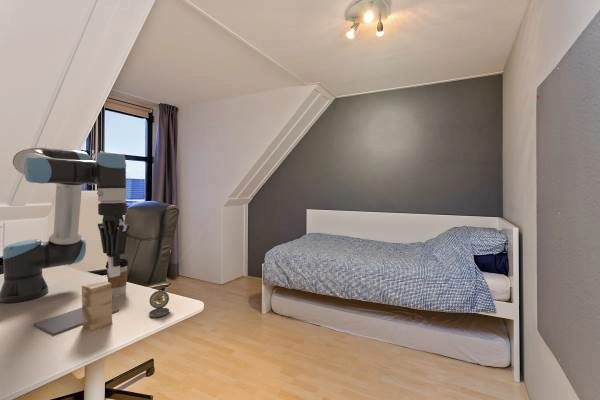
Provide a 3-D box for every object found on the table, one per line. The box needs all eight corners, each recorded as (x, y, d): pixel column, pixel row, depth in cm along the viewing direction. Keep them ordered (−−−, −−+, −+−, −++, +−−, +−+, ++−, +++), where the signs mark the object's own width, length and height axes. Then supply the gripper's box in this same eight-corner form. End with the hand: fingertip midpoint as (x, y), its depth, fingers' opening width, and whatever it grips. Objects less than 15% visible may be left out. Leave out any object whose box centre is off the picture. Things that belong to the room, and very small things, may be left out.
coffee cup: (118, 298, 118) (117, 262, 118) (101, 296, 120) (100, 261, 119) (133, 291, 127) (133, 258, 126) (117, 289, 128) (117, 257, 128)
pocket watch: (155, 320, 99) (155, 291, 99) (142, 314, 104) (142, 287, 103) (176, 311, 106) (176, 285, 106) (163, 306, 110) (163, 281, 110)
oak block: (82, 327, 94) (81, 285, 93) (102, 319, 99) (101, 280, 99) (92, 331, 91) (91, 288, 90) (112, 323, 96) (111, 283, 96)
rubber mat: (33, 325, 95) (33, 323, 95) (98, 303, 113) (98, 302, 113) (53, 335, 88) (53, 333, 88) (119, 310, 106) (119, 309, 106)
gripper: (87, 202, 88) (89, 276, 89) (112, 203, 83) (114, 282, 83) (112, 201, 95) (114, 270, 96) (137, 202, 89) (138, 275, 90)
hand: (114, 276), depth 90 cm, fingers closed
